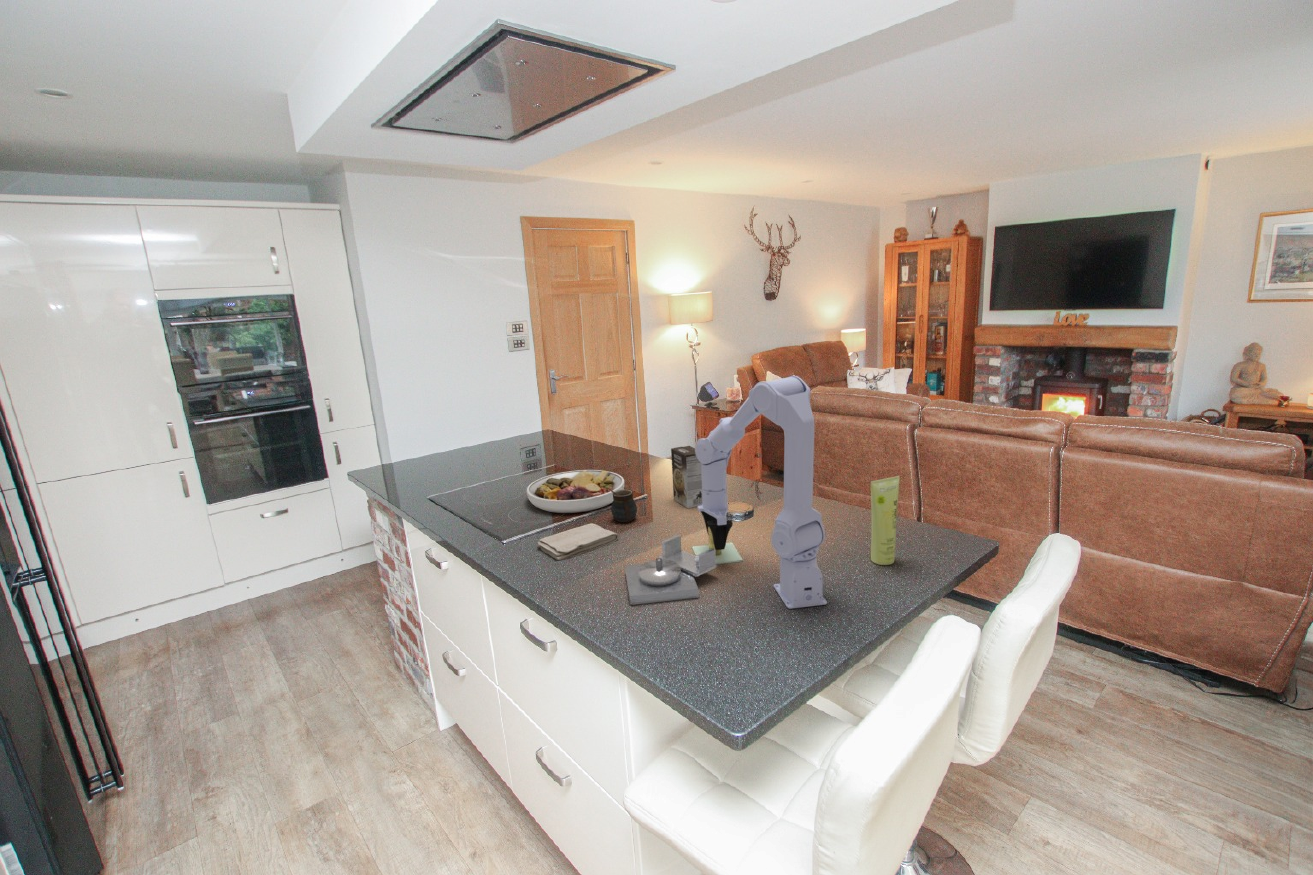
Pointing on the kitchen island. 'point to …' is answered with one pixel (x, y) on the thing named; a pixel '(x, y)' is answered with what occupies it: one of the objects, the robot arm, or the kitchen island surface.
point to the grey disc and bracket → (675, 564)
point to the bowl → (574, 490)
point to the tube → (884, 519)
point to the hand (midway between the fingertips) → (716, 542)
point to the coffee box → (686, 477)
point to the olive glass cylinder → (712, 543)
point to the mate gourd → (623, 505)
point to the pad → (727, 554)
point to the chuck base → (659, 588)
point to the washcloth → (576, 541)
